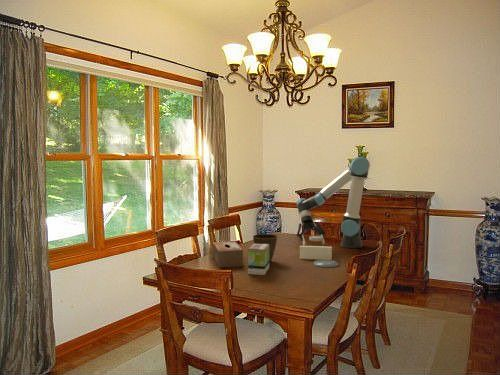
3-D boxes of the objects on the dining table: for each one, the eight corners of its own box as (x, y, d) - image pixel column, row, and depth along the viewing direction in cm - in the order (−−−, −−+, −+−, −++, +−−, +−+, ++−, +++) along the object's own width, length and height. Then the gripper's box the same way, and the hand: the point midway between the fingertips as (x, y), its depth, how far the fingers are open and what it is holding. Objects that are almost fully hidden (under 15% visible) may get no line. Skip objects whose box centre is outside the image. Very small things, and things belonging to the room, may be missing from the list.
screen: (299, 258, 272) (299, 246, 272) (299, 258, 274) (300, 245, 274) (331, 259, 269) (331, 247, 268) (331, 259, 271) (331, 246, 270)
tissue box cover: (242, 266, 257) (242, 249, 256) (219, 267, 254) (218, 251, 253) (235, 256, 282) (234, 241, 281) (213, 257, 279) (213, 242, 278)
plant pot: (264, 257, 277) (264, 233, 276) (282, 261, 267) (282, 236, 265) (248, 261, 267) (248, 236, 265) (265, 265, 256) (265, 239, 255)
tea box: (265, 275, 236) (265, 249, 235) (247, 274, 238) (247, 248, 237) (269, 268, 251) (269, 243, 250) (252, 267, 253) (252, 242, 252)
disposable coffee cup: (307, 253, 288) (307, 235, 287) (321, 252, 289) (321, 235, 288) (310, 256, 278) (310, 238, 277) (324, 256, 279) (325, 238, 278)
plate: (326, 259, 269) (326, 258, 269) (344, 265, 257) (344, 263, 257) (308, 263, 261) (308, 262, 261) (325, 268, 248) (325, 267, 248)
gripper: (321, 220, 303) (329, 246, 289) (287, 222, 297) (294, 248, 284) (324, 214, 297) (333, 240, 284) (290, 215, 291) (297, 241, 278)
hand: (314, 244), depth 284 cm, fingers open, 13 cm apart
